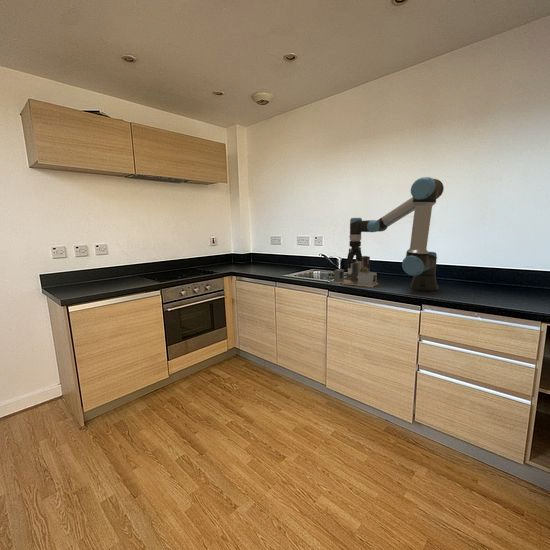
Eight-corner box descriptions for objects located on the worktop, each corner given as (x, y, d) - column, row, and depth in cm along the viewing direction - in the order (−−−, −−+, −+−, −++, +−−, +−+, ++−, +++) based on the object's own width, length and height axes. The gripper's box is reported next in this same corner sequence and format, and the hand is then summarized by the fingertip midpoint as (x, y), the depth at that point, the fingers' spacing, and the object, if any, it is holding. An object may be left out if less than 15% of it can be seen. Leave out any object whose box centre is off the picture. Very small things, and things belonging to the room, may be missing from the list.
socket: (343, 280, 208) (344, 269, 207) (339, 281, 203) (339, 270, 201) (339, 279, 211) (339, 269, 210) (333, 281, 205) (334, 270, 204)
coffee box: (364, 275, 228) (364, 255, 226) (369, 277, 222) (370, 256, 220) (354, 276, 225) (355, 256, 222) (360, 278, 219) (360, 257, 216)
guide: (378, 284, 193) (378, 272, 192) (372, 287, 186) (373, 274, 184) (338, 280, 213) (338, 269, 211) (331, 282, 205) (331, 271, 204)
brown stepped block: (373, 282, 192) (374, 263, 190) (371, 283, 189) (372, 264, 187) (349, 280, 203) (349, 262, 201) (346, 281, 201) (347, 263, 199)
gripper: (357, 239, 206) (356, 268, 210) (341, 241, 187) (340, 273, 191) (367, 239, 201) (366, 269, 205) (352, 241, 183) (351, 274, 186)
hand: (354, 271), depth 198 cm, fingers open, 13 cm apart
